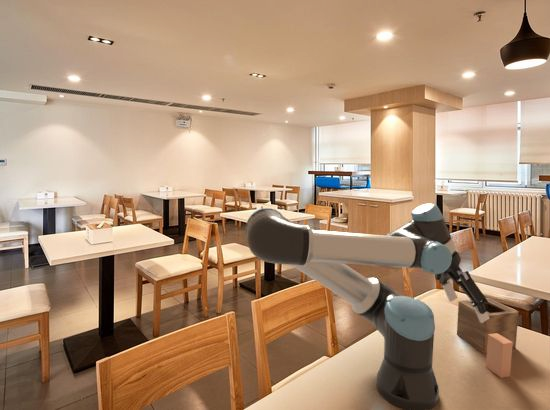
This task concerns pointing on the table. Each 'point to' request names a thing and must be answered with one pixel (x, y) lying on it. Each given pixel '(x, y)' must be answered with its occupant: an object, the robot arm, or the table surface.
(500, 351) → the tall salmon pillar block
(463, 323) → the tip box
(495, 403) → the table surface
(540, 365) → the table surface
